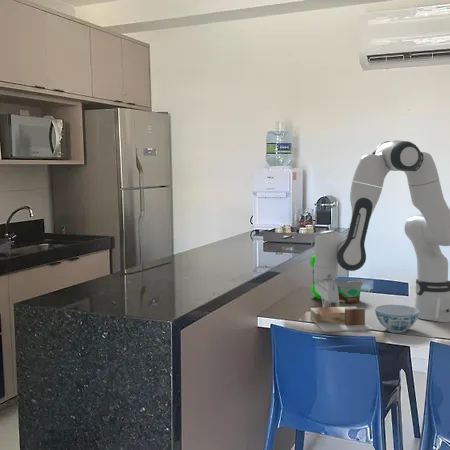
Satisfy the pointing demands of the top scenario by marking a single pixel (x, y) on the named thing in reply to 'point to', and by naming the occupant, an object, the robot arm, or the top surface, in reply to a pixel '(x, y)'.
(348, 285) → the food container
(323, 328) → the grey mat
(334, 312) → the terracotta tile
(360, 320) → the walnut tile
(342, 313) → the birch deck
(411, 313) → the chinaware
